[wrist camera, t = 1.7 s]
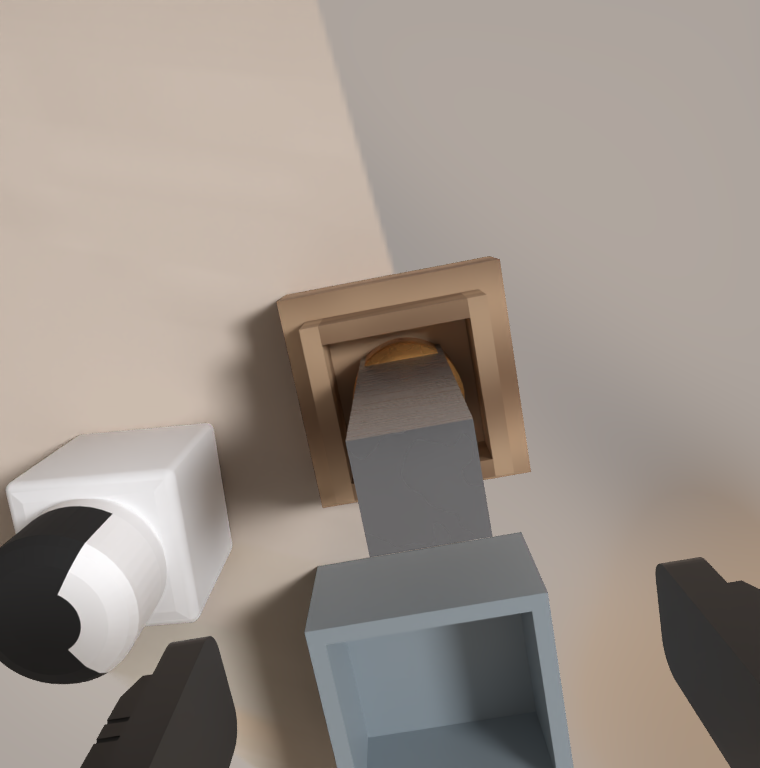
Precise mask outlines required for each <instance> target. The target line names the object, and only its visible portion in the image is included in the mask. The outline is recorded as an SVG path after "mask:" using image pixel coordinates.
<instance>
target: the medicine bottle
mask: <svg viewBox="0 0 760 768" xmlns="http://www.w3.org/2000/svg"><path fill="white" fill-rule="evenodd" d="M6 496H7V500H8V504H9V508H10V512H11V517H12V521H13V525H14V529H15V533H16V535H15V536H13V537H12V538H11V539H10V540H9V541H7V542H6V543H5V544H4V545H3V546H2V547H0V661H1V662H2V663H3V664H5V665H6V666H7V667H8V668H10V669H11V670H13V671H15V672H16V673H18V674H20V675H22V676H25V677H27V678H30V679H33V680H36V681H40V682H45V683H51V684H73V683H81V682H86V681H90V680H92V679H95V678H98V677H100V676H102V675H104V674H106V673H108V672H109V671H111V670H112V669H113V668H115V667H116V666H117V665H118V664H119V663H120V662H121V661H122V660H123V659H124V658H125V657H126V655H127V654H128V653H129V651H130V650H131V648H132V646H133V645H134V643H135V641H136V640H137V638H138V636H139V635H140V633H141V631H142V630H143V628H144V626H156V625H168V624H180V623H192V622H195V621H196V620H197V619H198V618H199V617H200V615H201V612H202V610H203V608H204V606H205V604H206V602H207V600H208V598H209V596H210V593H211V591H212V589H213V587H214V585H215V583H216V581H217V579H218V577H219V575H220V572H221V570H222V568H223V566H224V564H225V562H226V560H227V558H228V556H229V553H230V551H231V549H232V539H231V533H230V527H229V520H228V514H227V508H226V502H225V496H224V489H223V483H222V477H221V471H220V464H219V458H218V452H217V446H216V440H215V433H214V428H213V426H212V425H211V424H210V423H201V424H190V425H179V426H168V427H157V428H147V429H136V430H125V431H114V432H103V433H92V434H81V435H78V436H77V437H75V438H74V439H72V440H71V441H69V442H68V443H66V444H65V445H64V446H62V447H61V448H59V449H58V450H56V451H55V452H53V453H52V454H50V455H49V456H48V457H46V458H45V459H43V460H42V461H40V462H39V463H37V464H36V465H34V466H33V467H32V468H30V469H29V470H27V471H26V472H24V473H23V474H21V475H20V476H18V477H17V478H16V479H14V480H13V481H11V482H10V483H9V484H8V485H7V487H6Z"/></svg>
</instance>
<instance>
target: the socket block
mask: <svg viewBox="0 0 760 768" xmlns="http://www.w3.org/2000/svg"><path fill="white" fill-rule="evenodd" d="M277 307H278V311H279V316H280V320H281V325H282V329H283V334H284V338H285V342H286V347H287V351H288V356H289V360H290V365H291V369H292V374H293V378H294V383H295V387H296V392H297V396H298V400H299V405H300V409H301V414H302V418H303V423H304V427H305V432H306V436H307V441H308V445H309V449H310V454H311V458H312V463H313V467H314V472H315V476H316V481H317V485H318V490H319V494H320V498H321V503H322V507H323V508H326V507H331V506H337V505H343V504H349V503H354V502H358V498H357V493H356V489H355V484H354V479H353V474H352V470H351V465H350V460H349V455H348V451H347V446H346V436H347V431H348V426H349V420H350V415H351V409H352V404H353V390H354V385H355V380H356V376H357V372H358V370H359V366H360V361H361V358H366V357H367V355H368V354H369V353H370V352H371V351H372V350H373V349H375V348H376V347H378V346H379V345H381V344H383V343H384V342H387V341H389V340H393V339H397V338H403V337H412V338H419V339H423V340H426V341H428V342H431V343H433V344H434V345H436V344H440V346H441V348H442V350H443V351H444V352H445V353H446V354H447V355H448V356H449V358H450V359H451V361H452V362H453V364H454V366H455V368H456V370H457V372H458V374H459V376H460V378H461V381H462V384H463V388H464V394H465V402H466V404H467V406H468V409H469V411H470V413H471V415H472V418H473V422H474V428H475V434H476V440H477V446H478V452H479V458H480V464H481V470H482V477H483V480H486V479H492V478H498V477H504V476H509V475H515V474H521V473H527V472H531V470H530V462H529V455H528V449H527V442H526V435H525V429H524V421H523V415H522V408H521V401H520V394H519V387H518V380H517V374H516V367H515V360H514V354H513V346H512V340H511V334H510V326H509V319H508V312H507V306H506V299H505V293H504V285H503V279H502V272H501V265H500V259H497V258H493V257H490V256H488V257H482V258H477V259H472V260H467V261H461V262H457V263H451V264H446V265H441V266H436V267H430V268H425V269H420V270H415V271H410V272H404V273H399V274H393V275H388V276H383V277H378V278H372V279H367V280H362V281H357V282H351V283H346V284H341V285H336V286H330V287H325V288H320V289H315V290H309V291H304V292H299V293H294V294H289V295H285V296H284V297H283V298H281V299H280V300H278V301H277Z"/></svg>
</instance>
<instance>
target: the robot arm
mask: <svg viewBox="0 0 760 768" xmlns="http://www.w3.org/2000/svg"><path fill="white" fill-rule="evenodd" d="M656 585H657V593H658V604H659V613H660V622H661V632H662V641H663V646H664V651H665V655H666V659H667V662H668V665H669V668H670V670H671V672H672V675H673V677H674V679H675V680H676V682H677V683H678V685H679V687H680V688H681V690H682V691H683V693H684V695H685V696H686V698H687V699H688V701H689V703H690V704H691V706H692V707H693V709H694V710H695V712H696V714H697V715H698V717H699V718H700V720H701V721H702V723H703V725H704V726H705V728H706V729H707V731H708V732H709V734H710V736H711V737H712V739H713V740H714V742H715V743H716V745H717V747H718V748H719V750H720V751H721V753H722V754H723V756H724V758H725V759H726V761H727V762H728V764H729V765H730V767H731V768H760V589H758V588H756V587H754V586H752V585H750V584H748V583H745V582H743V581H736V582H730V583H727V582H726V581H725V580H724V579H723V578H722V577H721V576H720V575H719V574H718V573H717V572H716V571H715V569H714V568H712V566H711V565H710V564H709V563H708V562H707V561H706V560H704V558H701V557H698V558H692V559H687V560H680V561H674V562H668V563H661V564H658V565H657V567H656ZM107 721H108V723H107V725H104V727H103V729H102V730H101V732H100V734H99V736H98V738H97V743H96V744H94V745H93V746H92V748H91V750H90V752H89V753H88V755H87V757H86V759H85V760H84V762H83V764H82V766H81V767H80V768H229V766H230V763H231V759H232V756H233V753H234V749H235V745H236V738H237V719H236V712H235V707H234V703H233V699H232V696H231V692H230V688H229V685H228V681H227V677H226V674H225V670H224V666H223V663H222V659H221V655H220V652H219V648H218V645H217V643H216V641H215V639H214V638H213V637H211V636H208V637H202V638H196V639H190V640H184V641H178V642H172V643H170V644H169V645H168V646H167V648H166V650H165V652H164V654H163V655H162V657H161V659H160V661H159V663H158V665H157V667H156V669H155V671H154V673H153V674H152V675H146V676H142V677H141V678H140V679H139V680H138V681H137V682H136V683H135V684H134V685H133V686H132V687H131V688H130V689H129V690H128V691H126V692H125V693H124V694H123V695H122V696H121V697H120V699H119V701H118V702H117V704H116V706H115V708H114V710H113V711H112V713H111V715H110V716H109V718H108V720H107Z"/></svg>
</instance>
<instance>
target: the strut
mask: <svg viewBox="0 0 760 768" xmlns="http://www.w3.org/2000/svg"><path fill="white" fill-rule="evenodd" d="M346 446H347V451H348V455H349V460H350V465H351V470H352V474H353V479H354V484H355V489H356V493H357V498H358V503H359V508H360V512H361V517H362V522H363V526H364V531H365V536H366V541H367V545H368V550H369V555H370V557H374V556H380V555H386V554H392V553H398V552H403V551H409V550H415V549H421V548H427V547H433V546H439V545H445V544H451V543H457V542H463V541H468V540H474V539H480V538H486V537H492V531H491V525H490V520H489V513H488V507H487V502H486V495H485V489H484V483H483V477H482V470H481V464H480V458H479V452H478V446H477V440H476V434H475V428H474V422H473V418H472V415H471V413H470V411H469V409H468V406H467V404H466V402H465V394H464V388H463V384H462V381H461V378H460V376H459V374H458V372H457V370H456V368H455V366H454V364H453V362H452V361H451V359H450V358H449V356H448V355H447V354H446V353H445V352H444V351H443V350H442V348H441V346H440V344H436V345H434V344H433V343H431V342H428V341H426V340H423V339H419V338H412V337H403V338H397V339H393V340H389V341H387V342H384V343H383V344H381V345H379V346H378V347H376V348H375V349H373V350H372V351H371V352H370V353H369V354H368V355H367V357H366V358H361V361H360V366H359V370H358V372H357V376H356V380H355V385H354V390H353V404H352V409H351V415H350V420H349V426H348V431H347V436H346Z"/></svg>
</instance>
